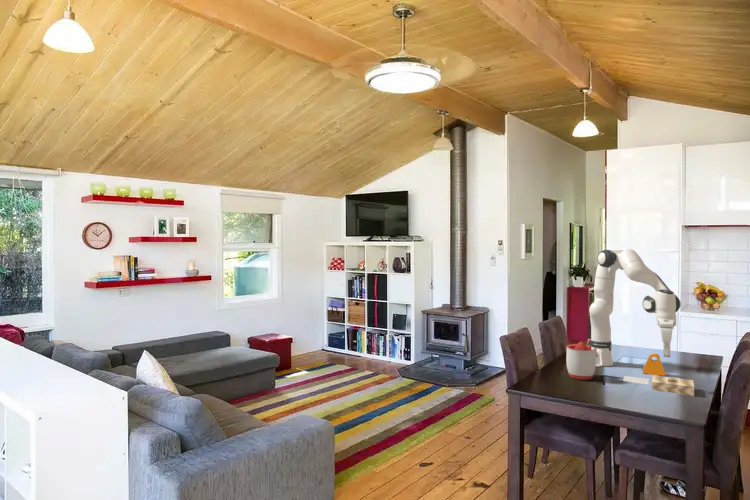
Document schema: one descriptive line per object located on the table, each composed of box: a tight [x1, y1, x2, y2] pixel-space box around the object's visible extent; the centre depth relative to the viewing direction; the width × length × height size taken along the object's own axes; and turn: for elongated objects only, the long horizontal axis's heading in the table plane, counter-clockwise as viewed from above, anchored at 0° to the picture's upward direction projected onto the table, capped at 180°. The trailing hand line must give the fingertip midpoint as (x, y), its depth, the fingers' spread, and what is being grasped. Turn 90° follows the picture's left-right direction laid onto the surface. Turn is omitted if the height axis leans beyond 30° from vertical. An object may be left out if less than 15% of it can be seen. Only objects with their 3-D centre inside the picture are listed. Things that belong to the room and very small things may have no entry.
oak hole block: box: [651, 375, 695, 397], centre depth 259 cm, size 18×14×4 cm
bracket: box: [642, 352, 666, 377], centre depth 288 cm, size 11×7×12 cm, turn 59°
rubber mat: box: [622, 375, 650, 385], centre depth 275 cm, size 12×12×1 cm
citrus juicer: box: [565, 341, 599, 381], centre depth 281 cm, size 16×17×20 cm
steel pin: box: [663, 343, 672, 358], centre depth 261 cm, size 3×3×9 cm
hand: (666, 348), depth 261 cm, fingers closed on steel pin, 3 cm apart
